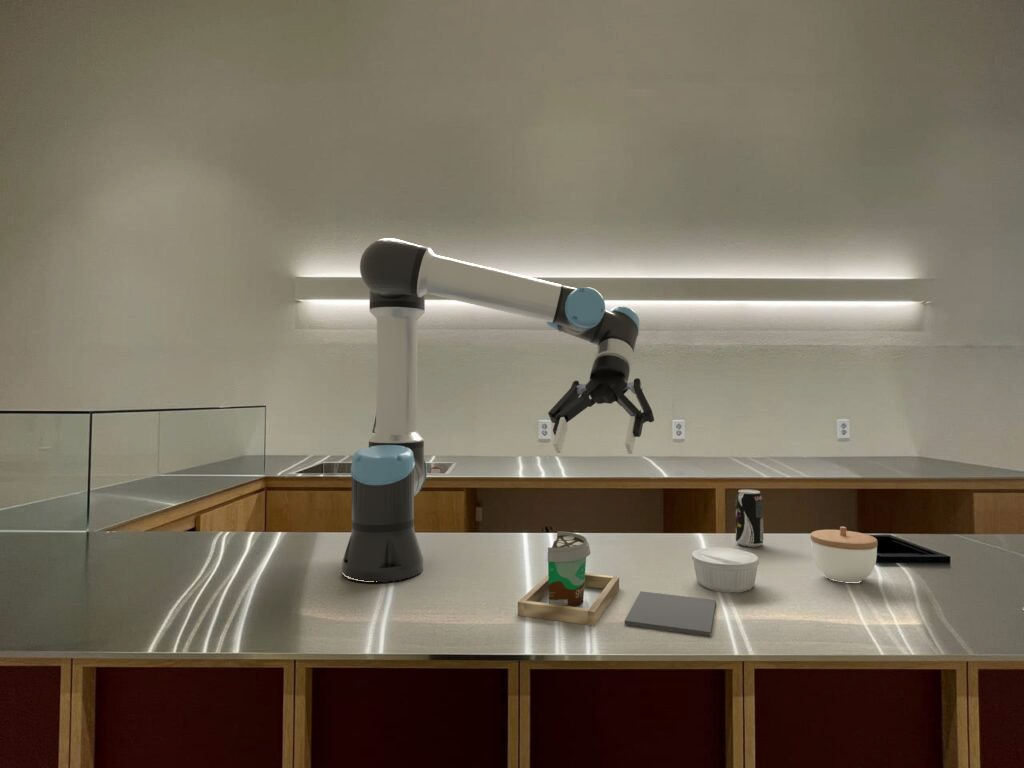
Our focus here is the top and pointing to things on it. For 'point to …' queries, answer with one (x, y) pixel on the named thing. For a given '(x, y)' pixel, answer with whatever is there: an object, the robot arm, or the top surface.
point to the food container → (567, 569)
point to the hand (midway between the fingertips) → (591, 448)
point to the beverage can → (749, 518)
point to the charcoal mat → (672, 613)
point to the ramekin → (725, 569)
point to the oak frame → (567, 613)
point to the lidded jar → (844, 554)
